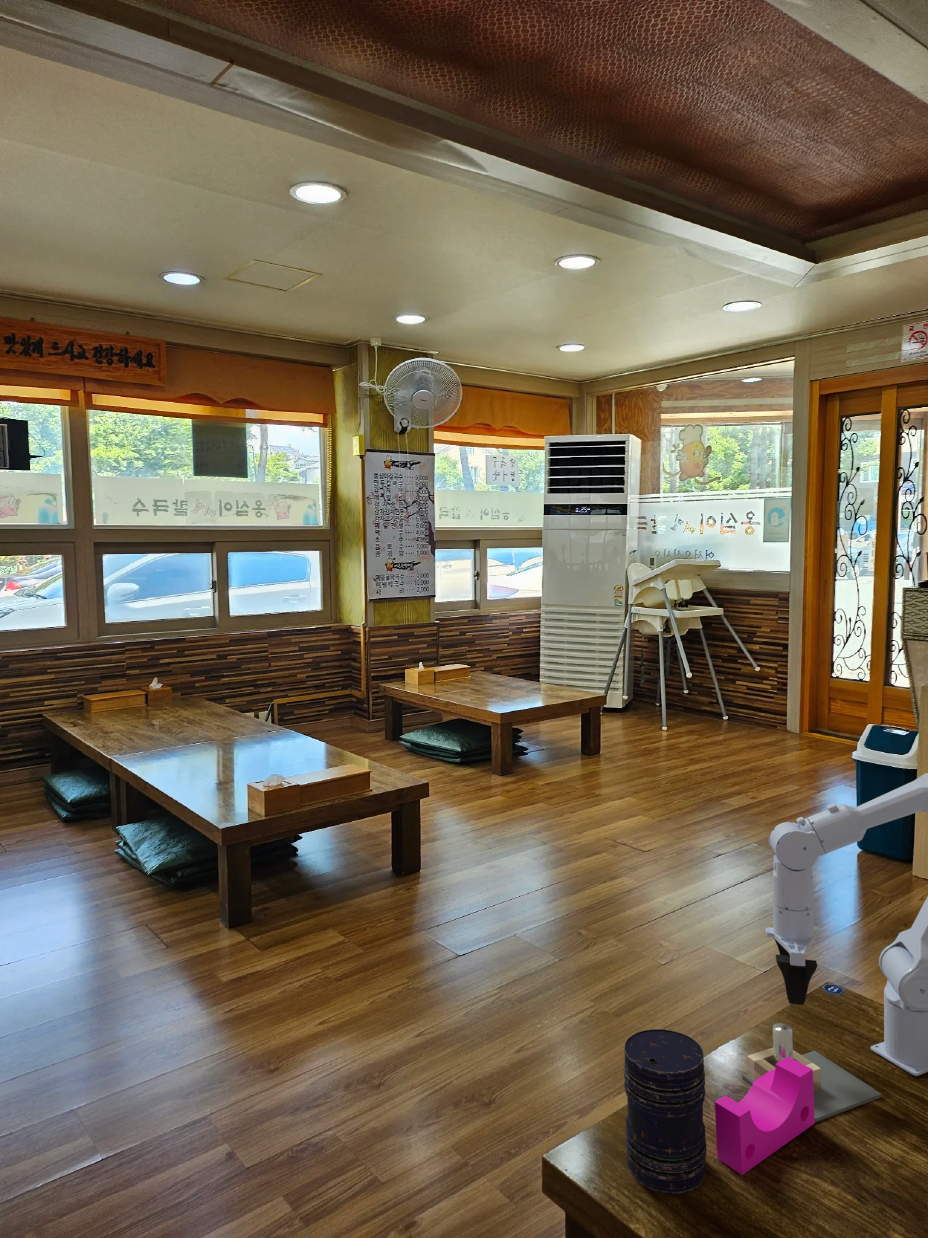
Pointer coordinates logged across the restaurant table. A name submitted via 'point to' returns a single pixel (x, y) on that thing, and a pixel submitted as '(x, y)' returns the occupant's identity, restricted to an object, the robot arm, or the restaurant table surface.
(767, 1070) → the birch square frame
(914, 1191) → the restaurant table surface
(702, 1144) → the dark metal barrel
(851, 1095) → the charcoal mat
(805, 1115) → the toy block
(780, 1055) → the metal pin
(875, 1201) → the restaurant table surface
